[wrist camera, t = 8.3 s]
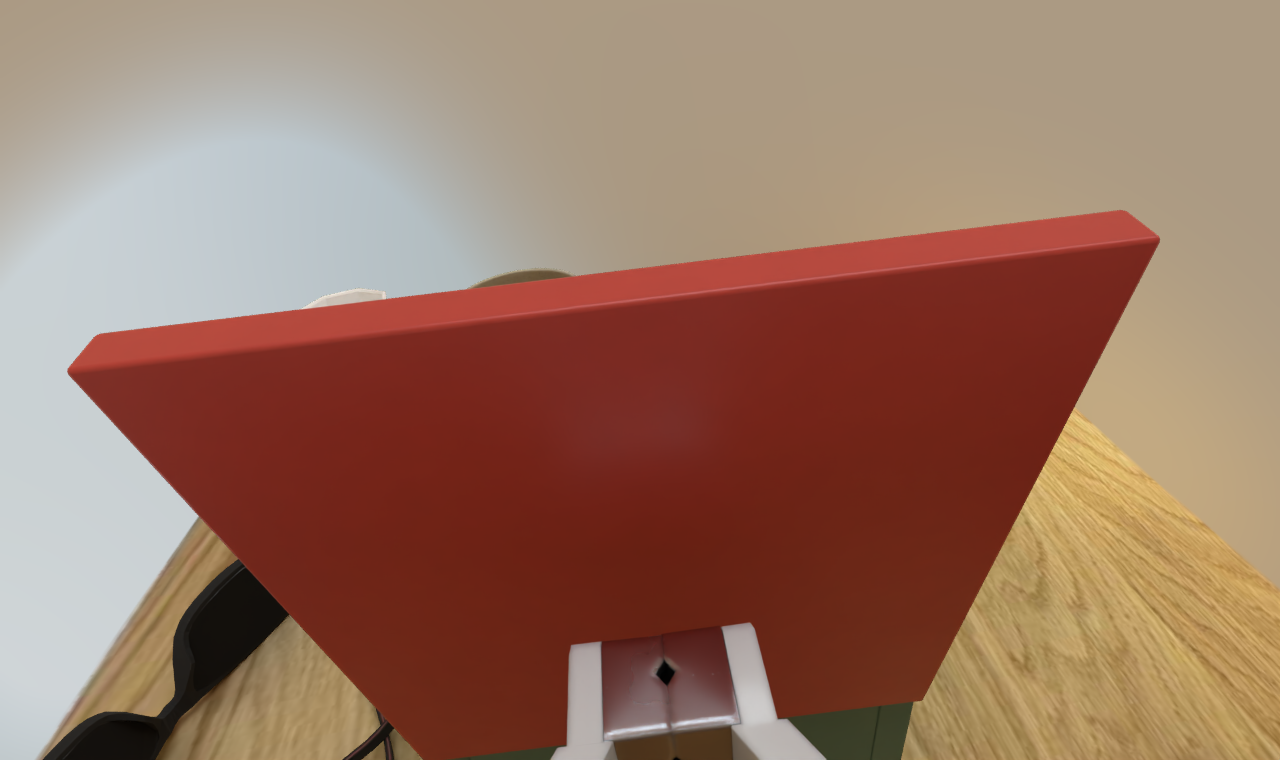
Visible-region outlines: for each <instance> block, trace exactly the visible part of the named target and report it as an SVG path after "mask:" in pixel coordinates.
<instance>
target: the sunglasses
mask: <svg viewBox="0 0 1280 760" xmlns="http://www.w3.org/2000/svg"><path fill="white" fill-rule="evenodd" d="M288 614H289V613H288V612H287V611H286V610H285V609H284V608H283V607H282V606H281V605H280V603H279V602H278V601H277V600H276V599H275V598H274V597H273V596H272V595H271V594H270V593H269V592H268V590H267V589H266V588H265V587H264V586H263V585H262V584H261V583H260V582H259V581H258V580H257V579H256V577H255V576H254V575H253V574H252V573H251V572H250V571H249V570H248V569H247V568H246V567H245V566H244V564H243V563H242V562H241V561H240V560H239V559H238V560H237V561H235V562H234V563H233V564H231V565H230V566H229V567H227V568H226V569H225V570H224V571H223V572H221V573H220V574H219V575H218V576H217V577H216V578H215V579H214V580H213V581H212V582H211V583H210V584H209V585H208V586H207V587H206V588H205V589H204V590H203V591H202V592H201V593H200V594H199V595H198V597H197V598H196V599H195V600H194V601H193V602H192V604H191V605H190V606H189V608H188V609H187V610H186V612H185V613H184V615H183V616H182V618H181V620H180V622H179V624H178V627H177V629H176V632H175V636H174V641H173V669H174V680H175V695H174V697H173V699H172V700H171V701H170V702H169V703H168V704H167V705H166V706H165V707H164V708H163V710H162V711H161V713H160V714H159V715H158V716H157V717H149V716H144V715H138V714H133V713H128V712H103V713H100V714H97V715H95V716H92V717H90V718H88V719H86V720H85V721H84V722H82V723H81V724H79V725H78V726H77V727H75V728H74V729H73V730H72V731H71V732H70V733H68V734H67V735H66V736H65V737H64V738H63V739H62V740H61V741H60V742H59V743H58V744H57V745H56V746H55V747H54V748H53V749H52V750H51V751H50V752H49V753H48V754H47V755H46V756H45V758H44V759H43V760H155V759H156V757H157V755H158V754H159V752H160V750H161V749H162V747H163V745H164V743H165V742H166V740H167V739H168V737H169V736H170V734H171V733H172V731H173V729H174V727H175V724H176V723H177V721H178V720H179V718H180V717H181V716H182V715H183V714H184V713H186V712H187V711H188V710H189V709H191V708H192V707H193V706H194V705H195V704H196V703H197V702H198V701H199V700H200V699H201V698H202V697H203V696H204V695H206V694H207V693H208V692H209V691H210V690H211V689H212V688H213V687H214V686H216V685H217V684H218V683H219V682H220V681H221V680H222V679H223V678H224V677H225V676H226V675H228V674H229V673H230V672H231V671H232V670H233V669H234V668H235V667H236V666H237V665H238V664H239V663H240V662H242V661H243V660H244V659H245V658H246V657H247V656H248V655H249V654H250V653H251V652H252V651H253V650H254V649H255V648H256V647H257V646H258V645H259V644H260V643H261V642H262V641H263V640H264V639H265V638H266V637H267V636H268V635H269V634H270V633H271V632H272V631H273V630H274V629H275V628H276V627H277V626H278V625H279V624H280V623H281V622H282V621H283V620H284V618H285V617H286V616H287V615H288ZM376 711H377V714H378V718H379V721H380V725H381V726H380V727H379V728H378V729H377V730H376V731H375V732H374V733H373V734H372V735H371V736H370V737H369V738H368V739H367V740H366V741H365V742H364V743H362V744H361V745H360V746H359V747H357V748H356V749H355V750H354V751H352V752H351V753H350V754H349V755H348V756H346V757H345V758H344V759H343V760H362V759H363V758H364V757H365V756H367V755H368V754H369V753H370V752H372V751H373V750H374V749H375V748H376V747H377V746H378V745H379V744H380V743H381V742H382V741H383V740H384V745H385V752H386V760H394V756H393V750H392V745H391V741H390V736H389V734H390V733H391V732H392V730H393V729H394V727H393V726H392V725H391V724H390V723H389V722H388V721H387V720H386V719H385V718H384V716H383V715H382V714H381V713H380V712H379V711H378V710H377V709H376ZM124 720H125V721H124Z"/></svg>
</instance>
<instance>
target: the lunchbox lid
mask: <svg viewBox="0 0 1280 760" xmlns="http://www.w3.org/2000/svg"><path fill="white" fill-rule="evenodd" d="M1159 242H1160V238H1159V236H1158V235H1156V234H1155V233H1154V232H1153V231H1151V230H1150V229H1149V228H1147V227H1146V226H1145V225H1143V224H1142V223H1141V222H1140V221H1139V220H1137V219H1136V218H1135V217H1133V216H1132V215H1131V214H1129V213H1128V212H1127V211H1123V210H1117V211H1109V212H1102V213H1093V214H1084V215H1076V216H1068V217H1059V218H1051V219H1043V220H1035V221H1026V222H1018V223H1010V224H1002V225H993V226H985V227H977V228H969V229H960V230H952V231H945V232H936V233H927V234H920V235H911V236H903V237H894V238H886V239H878V240H870V241H861V242H853V243H845V244H836V245H828V246H820V247H812V248H804V249H795V250H787V251H779V252H770V253H762V254H754V255H746V256H737V257H729V258H721V259H713V260H704V261H696V262H688V263H680V264H671V265H663V266H655V267H647V268H639V269H630V270H623V271H614V272H605V273H598V274H589V275H581V276H572V277H564V278H556V279H547V280H539V281H531V282H523V283H514V284H506V285H498V286H490V287H481V288H473V289H466V290H457V291H449V292H441V293H432V294H424V295H416V296H408V297H399V298H391V299H382V300H374V301H366V302H358V303H349V304H341V305H333V306H325V307H316V308H308V309H300V310H292V311H284V312H275V313H267V314H259V315H250V316H242V317H235V318H226V319H217V320H210V321H202V322H193V323H184V324H176V325H168V326H159V327H151V328H143V329H135V330H127V331H118V332H110V333H103V334H99V335H97V336H95V337H94V338H93V339H92V340H91V342H90V343H89V344H88V345H87V346H86V348H85V349H84V350H83V351H82V352H81V353H80V355H79V356H78V357H77V358H76V359H75V361H74V362H73V363H72V364H71V366H70V367H69V368H68V371H67V372H68V374H69V376H70V377H71V378H72V379H73V380H74V381H75V382H76V383H77V384H78V385H79V386H80V388H81V389H82V390H83V391H84V392H85V393H86V394H87V395H88V396H89V397H90V399H91V400H93V402H94V403H95V404H96V405H97V406H98V407H99V408H100V409H101V410H102V411H103V413H104V414H106V416H107V417H108V418H109V419H110V420H111V421H112V422H113V423H114V425H115V426H116V427H117V428H118V429H119V430H120V431H121V432H122V433H123V434H124V435H125V436H126V437H127V439H128V440H129V441H130V442H131V443H132V444H133V445H134V446H135V447H136V448H137V449H138V451H139V452H140V453H141V454H142V455H143V456H144V457H145V458H146V459H147V460H148V461H149V462H150V464H151V465H152V466H153V467H154V468H155V469H156V470H157V471H158V472H159V473H160V474H161V476H162V477H163V478H164V479H165V480H166V481H167V482H168V483H169V484H170V485H171V486H172V487H173V488H174V490H175V491H176V492H177V493H178V494H179V495H180V496H181V497H182V498H183V499H184V500H185V502H186V503H187V504H188V505H189V506H190V507H191V508H192V509H193V510H194V511H195V512H196V513H197V515H198V516H199V517H200V518H201V519H202V520H203V521H204V522H205V523H206V524H207V525H208V526H209V528H210V529H211V530H212V531H213V532H214V533H215V534H216V535H217V536H218V537H219V538H220V540H221V541H222V542H223V543H224V544H225V545H226V546H227V547H228V548H229V549H230V550H231V551H232V553H233V554H234V555H235V556H236V557H237V558H238V559H239V560H240V561H241V562H242V563H243V564H244V566H245V567H246V568H247V569H248V570H249V571H250V572H251V573H252V574H253V575H254V576H255V577H256V579H257V580H258V581H259V582H260V583H261V584H262V585H263V586H264V587H265V588H266V589H267V590H268V592H269V593H270V594H271V595H272V596H273V597H274V598H275V599H276V600H277V601H278V602H279V603H280V605H281V606H282V607H283V608H284V609H285V610H286V611H287V612H288V613H289V614H290V615H291V617H292V618H293V619H294V620H295V621H296V622H297V623H298V624H299V625H300V626H301V627H302V628H303V630H304V631H305V632H306V633H307V634H308V635H309V636H310V637H311V638H312V639H313V640H314V641H315V643H316V644H317V645H318V646H319V647H320V648H321V649H322V650H323V651H324V652H325V653H326V654H327V656H328V657H329V658H330V659H331V660H332V661H333V662H334V663H335V664H336V665H337V666H338V667H339V669H340V670H341V671H342V672H343V673H344V674H345V675H346V676H347V677H348V678H349V679H350V680H351V682H352V683H353V684H354V685H355V686H356V687H357V688H358V689H359V690H360V691H361V692H362V694H363V695H364V696H365V697H366V698H367V699H368V700H369V701H370V702H371V703H372V704H373V705H374V707H375V708H376V709H377V710H378V711H379V712H380V713H381V714H382V715H383V716H384V717H385V718H386V720H387V721H388V722H389V723H390V724H391V725H392V726H393V727H394V728H395V729H396V730H397V731H398V733H399V734H400V735H401V736H402V737H403V738H404V739H405V740H406V741H407V742H408V743H409V744H410V746H411V747H412V748H413V749H414V750H415V751H416V752H417V753H418V754H419V755H420V756H421V758H422V759H423V760H446V759H454V758H463V757H471V756H479V755H487V754H495V753H503V752H511V751H519V750H527V749H535V748H543V747H551V746H559V745H567V711H568V670H569V653H570V648H571V645H576V644H583V643H591V642H599V641H611V640H620V639H629V638H638V637H647V636H656V635H661V634H664V633H671V632H678V631H685V630H692V629H699V628H706V627H713V626H720V628H721V627H722V626H728V625H735V624H742V623H748V622H750V623H751V624H752V626H753V627H754V629H755V632H756V636H757V640H758V644H759V648H760V652H761V656H762V660H763V664H764V667H765V671H766V675H767V679H768V683H769V687H770V691H771V695H772V699H773V703H774V707H775V711H776V714H777V718H785V717H794V716H802V715H810V714H818V713H826V712H834V711H842V710H850V709H858V708H866V707H874V706H882V705H890V704H898V703H907V702H915V701H921V700H923V698H924V696H925V694H926V692H927V690H928V689H929V687H930V685H931V683H932V681H933V679H934V677H935V675H936V673H937V671H938V669H939V667H940V665H941V663H942V662H943V660H944V658H945V656H946V654H947V652H948V650H949V648H950V646H951V644H952V642H953V640H954V638H955V636H956V634H957V633H958V631H959V629H960V627H961V625H962V623H963V621H964V619H965V617H966V615H967V613H968V611H969V609H970V607H971V606H972V604H973V602H974V600H975V598H976V596H977V594H978V592H979V590H980V588H981V586H982V584H983V582H984V580H985V578H986V577H987V575H988V573H989V571H990V569H991V567H992V565H993V563H994V561H995V559H996V557H997V555H998V553H999V551H1000V550H1001V548H1002V546H1003V544H1004V542H1005V540H1006V538H1007V536H1008V534H1009V532H1010V530H1011V528H1012V526H1013V524H1014V522H1015V521H1016V519H1017V517H1018V515H1019V513H1020V511H1021V509H1022V507H1023V505H1024V503H1025V501H1026V499H1027V497H1028V495H1029V494H1030V492H1031V490H1032V488H1033V486H1034V484H1035V482H1036V480H1037V478H1038V476H1039V474H1040V472H1041V470H1042V468H1043V466H1044V465H1045V463H1046V461H1047V459H1048V457H1049V455H1050V453H1051V451H1052V449H1053V447H1054V445H1055V443H1056V441H1057V439H1058V438H1059V436H1060V434H1061V432H1062V430H1063V428H1064V426H1065V424H1066V422H1067V420H1068V418H1069V416H1070V414H1071V412H1072V410H1073V409H1074V407H1075V404H1076V403H1077V401H1078V399H1079V397H1080V395H1081V393H1082V391H1083V389H1084V387H1085V385H1086V383H1087V381H1088V379H1089V377H1090V376H1091V374H1092V372H1093V370H1094V368H1095V366H1096V364H1097V362H1098V360H1099V358H1100V356H1101V354H1102V353H1103V351H1104V349H1105V347H1106V344H1107V343H1108V341H1109V339H1110V337H1111V335H1112V333H1113V331H1114V329H1115V327H1116V325H1117V323H1118V322H1119V320H1120V318H1121V316H1122V314H1123V312H1124V310H1125V308H1126V306H1127V304H1128V302H1129V300H1130V298H1131V296H1132V295H1133V292H1134V291H1135V289H1136V287H1137V285H1138V283H1139V281H1140V279H1141V277H1142V275H1143V273H1144V271H1145V269H1146V267H1147V266H1148V264H1149V262H1150V260H1151V258H1152V256H1153V254H1154V252H1155V250H1156V248H1157V246H1158V244H1159Z"/></svg>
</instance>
